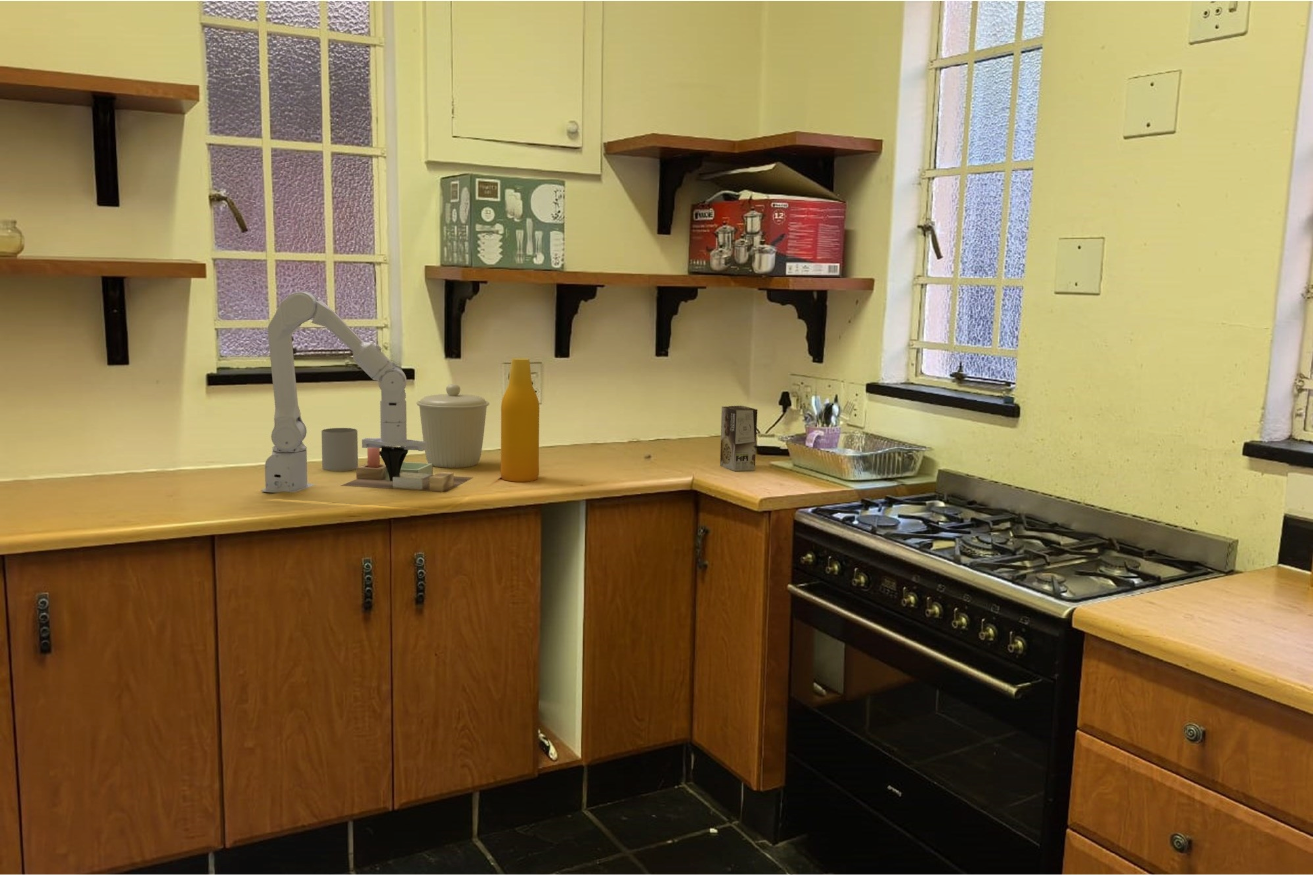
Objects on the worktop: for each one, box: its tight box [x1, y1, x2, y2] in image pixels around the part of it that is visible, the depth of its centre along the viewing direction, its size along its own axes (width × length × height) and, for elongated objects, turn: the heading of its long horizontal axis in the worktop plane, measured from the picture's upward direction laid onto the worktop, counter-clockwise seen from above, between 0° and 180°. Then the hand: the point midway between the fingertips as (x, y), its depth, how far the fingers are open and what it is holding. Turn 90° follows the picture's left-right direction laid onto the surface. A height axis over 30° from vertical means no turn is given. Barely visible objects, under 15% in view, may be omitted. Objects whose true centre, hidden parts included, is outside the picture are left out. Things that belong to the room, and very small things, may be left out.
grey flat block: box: [393, 472, 432, 490], centre depth 237 cm, size 6×7×2 cm
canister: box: [416, 383, 490, 469], centre depth 266 cm, size 18×18×21 cm
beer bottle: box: [500, 357, 540, 483], centre depth 251 cm, size 9×9×29 cm
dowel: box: [366, 447, 381, 468], centre depth 247 cm, size 3×3×7 cm
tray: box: [385, 461, 434, 481], centre depth 247 cm, size 9×8×3 cm
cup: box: [321, 427, 359, 472], centre depth 257 cm, size 8×8×10 cm
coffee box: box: [719, 405, 759, 472], centre depth 274 cm, size 9×6×16 cm
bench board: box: [340, 462, 474, 493], centre depth 243 cm, size 18×26×4 cm
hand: (394, 480), depth 238 cm, fingers closed
